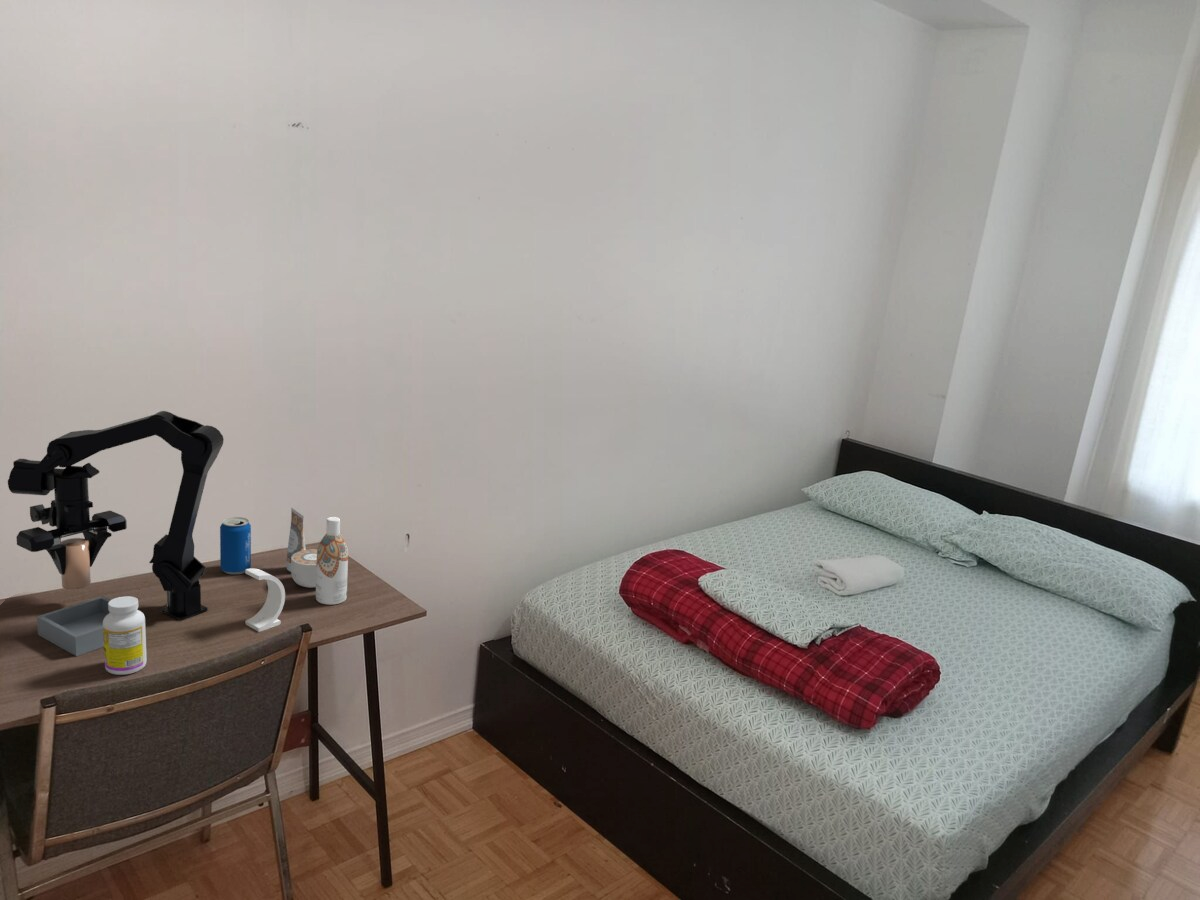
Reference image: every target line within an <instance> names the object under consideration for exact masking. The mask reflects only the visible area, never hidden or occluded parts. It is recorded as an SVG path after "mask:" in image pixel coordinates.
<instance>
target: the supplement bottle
mask: <svg viewBox="0 0 1200 900" xmlns="http://www.w3.org/2000/svg"><path fill="white" fill-rule="evenodd" d="M139 606H140V605H139V599H138V598H137V597H135V596H129V595H128V596H119V597H115V598H112V599H111V600H110V601H109V603H108V610H109V612H110V613H109V614H108V615H107V616H106V617H105V618H104V620H103V638H104V647H103V653H104V654H103V655H104V668H105V670H106V672H108V673H110V674H112V675H115V676H116V675H117V676H120V675H122V676H124V675H130V674H133V673H137V672H139V671H141V670H142V669H143V668H144V667H146V665H147V662H148V661H147V634H146V633H147V631H146V617H145V614H144V612H142V611H141V610H139Z"/></svg>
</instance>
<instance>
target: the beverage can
mask: <svg viewBox="0 0 1200 900" xmlns="http://www.w3.org/2000/svg"><path fill="white" fill-rule="evenodd" d="M219 548H220V549H219V550H220V552H219V553H220V554H219V555H220V557H219V559H220V563H219V564H220V565H219V566H220V570H221V571H222V572H224V573H226V574H228V575H242V574H246V573H245V569H250V568H251V567H252V525H251V524H250V520H249V519H248V518H246V517H239V516H231V517H227V518H224V519H223V520H222V521H221V525H220V526H219Z"/></svg>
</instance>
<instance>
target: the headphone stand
mask: <svg viewBox="0 0 1200 900" xmlns="http://www.w3.org/2000/svg"><path fill="white" fill-rule="evenodd" d="M244 574H246V575H248V576H250V577H252V578H253V579H256V580H258V581H263V580H264V581H265V582H266V584H267V595H266V596H267V597H266V600H265V602H264V604H263V605H262V607H261V608H260V610H259V611H258V612H257V613H256V614H255V615H254V616H252V617H251V618H248V619H246V620H245V625H246V626H248V627H249V628H251V629H253V630H254V631H256V632H258V633H260V632H263V631H266V630H269V629H271V628H273V627H277V626H280V625H281V622H282V621H281V620H280V619H278V617H279V616H280V615H281V613H282V611H283V608H284V606H285V602H286V591H285V586H284V585H283V583H282V582H281V580H280V579H279V578H278V577H276V576H274V575H272V574H270V573H268V572H266V571H263V570H261V569H258V568H250V569H245V573H244Z"/></svg>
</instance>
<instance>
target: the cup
mask: <svg viewBox="0 0 1200 900" xmlns="http://www.w3.org/2000/svg"><path fill="white" fill-rule="evenodd" d="M61 544H63V545H65V546H66V569H65V574H64V575H62V574H60V575H61V587H62V588H63V589H66V590H80V589H84V588H87V587H89V586H91V583H92V580H91V579H92V578H91V567H90V556H89V541H88V540H87V539H85V538H83V537H81V538H80V537H73V538H67V539H64V540H61Z"/></svg>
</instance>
